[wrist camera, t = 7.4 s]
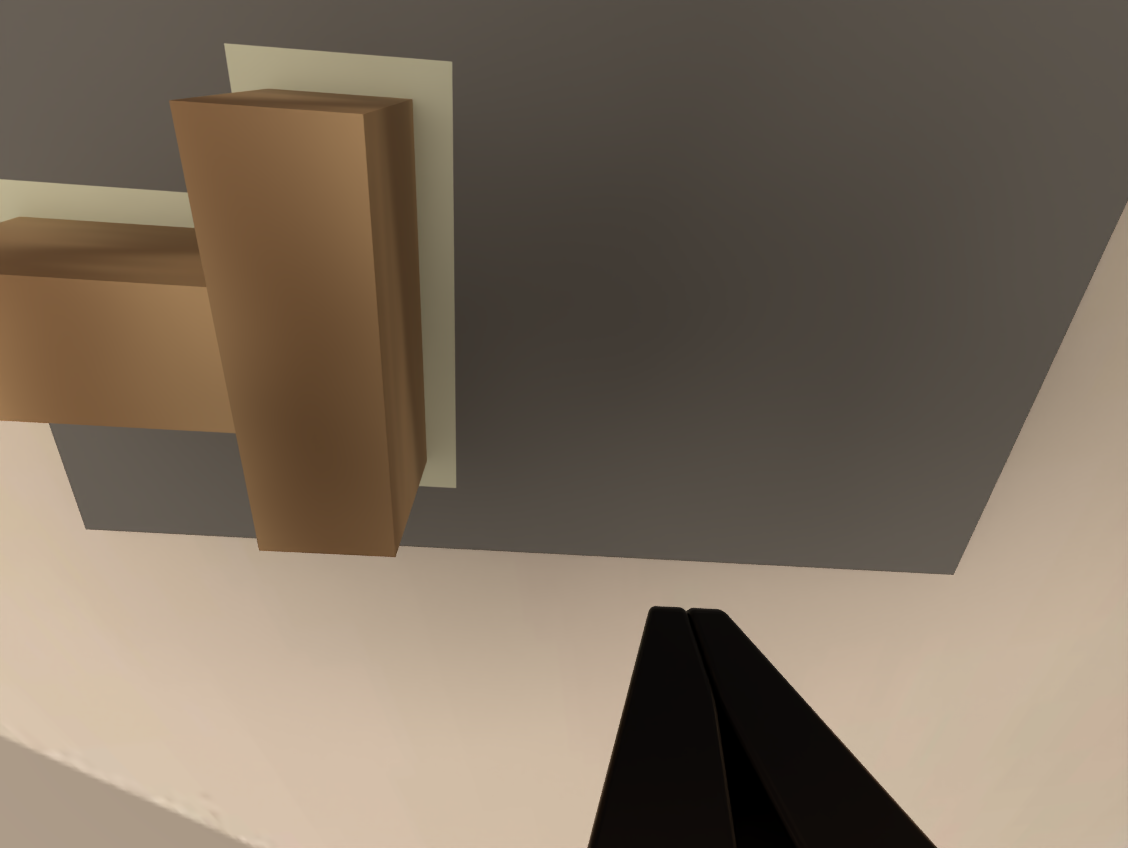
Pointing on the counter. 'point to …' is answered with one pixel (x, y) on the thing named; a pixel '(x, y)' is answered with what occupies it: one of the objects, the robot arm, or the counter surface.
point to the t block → (248, 313)
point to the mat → (644, 251)
